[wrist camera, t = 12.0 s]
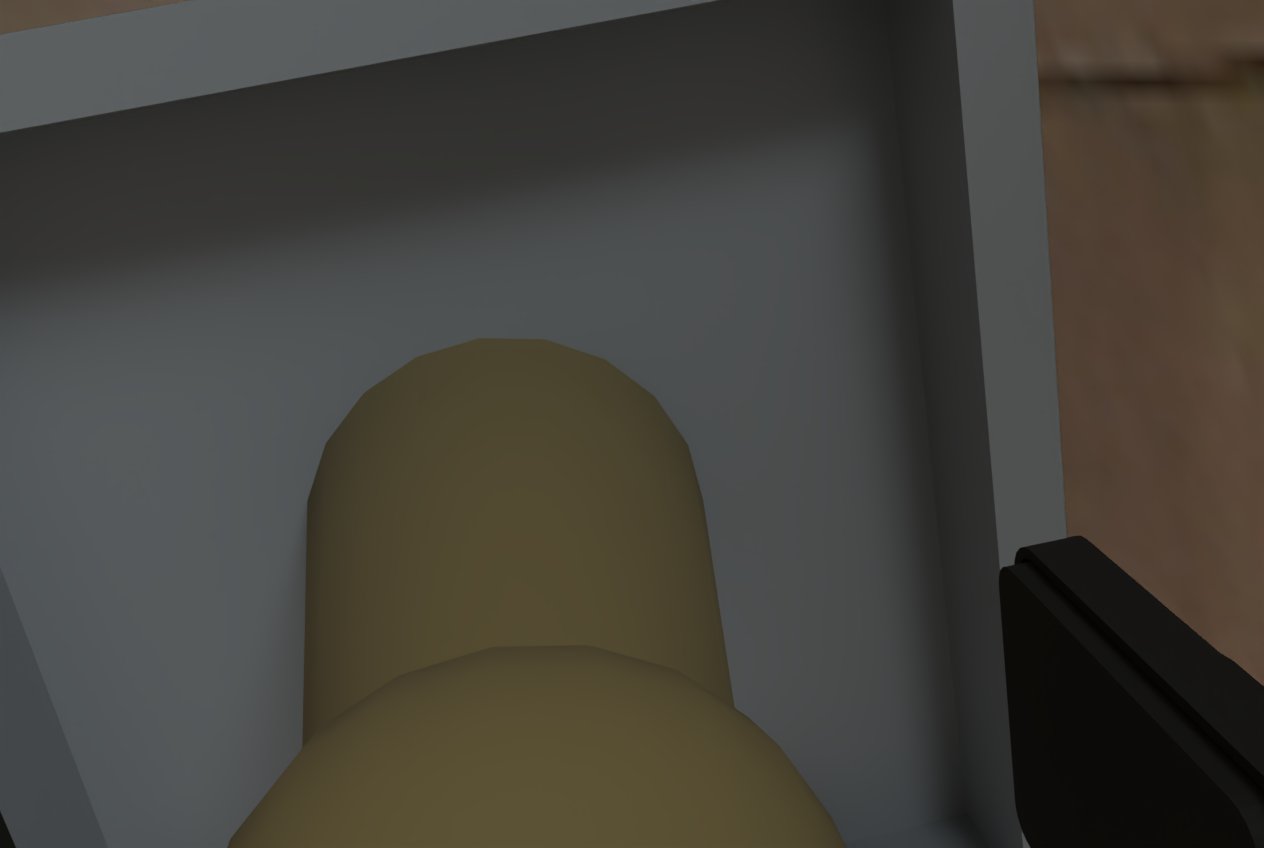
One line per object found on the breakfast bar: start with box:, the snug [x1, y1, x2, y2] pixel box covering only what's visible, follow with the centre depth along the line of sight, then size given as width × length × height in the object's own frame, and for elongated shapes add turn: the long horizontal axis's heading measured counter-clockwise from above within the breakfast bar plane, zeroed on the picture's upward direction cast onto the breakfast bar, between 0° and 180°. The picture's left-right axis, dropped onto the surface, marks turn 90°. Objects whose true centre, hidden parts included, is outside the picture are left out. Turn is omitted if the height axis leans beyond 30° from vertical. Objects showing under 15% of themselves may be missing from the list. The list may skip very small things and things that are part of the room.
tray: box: [0, 0, 1067, 848], centre depth 17 cm, size 16×16×3 cm
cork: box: [227, 338, 847, 848], centre depth 13 cm, size 6×6×11 cm
